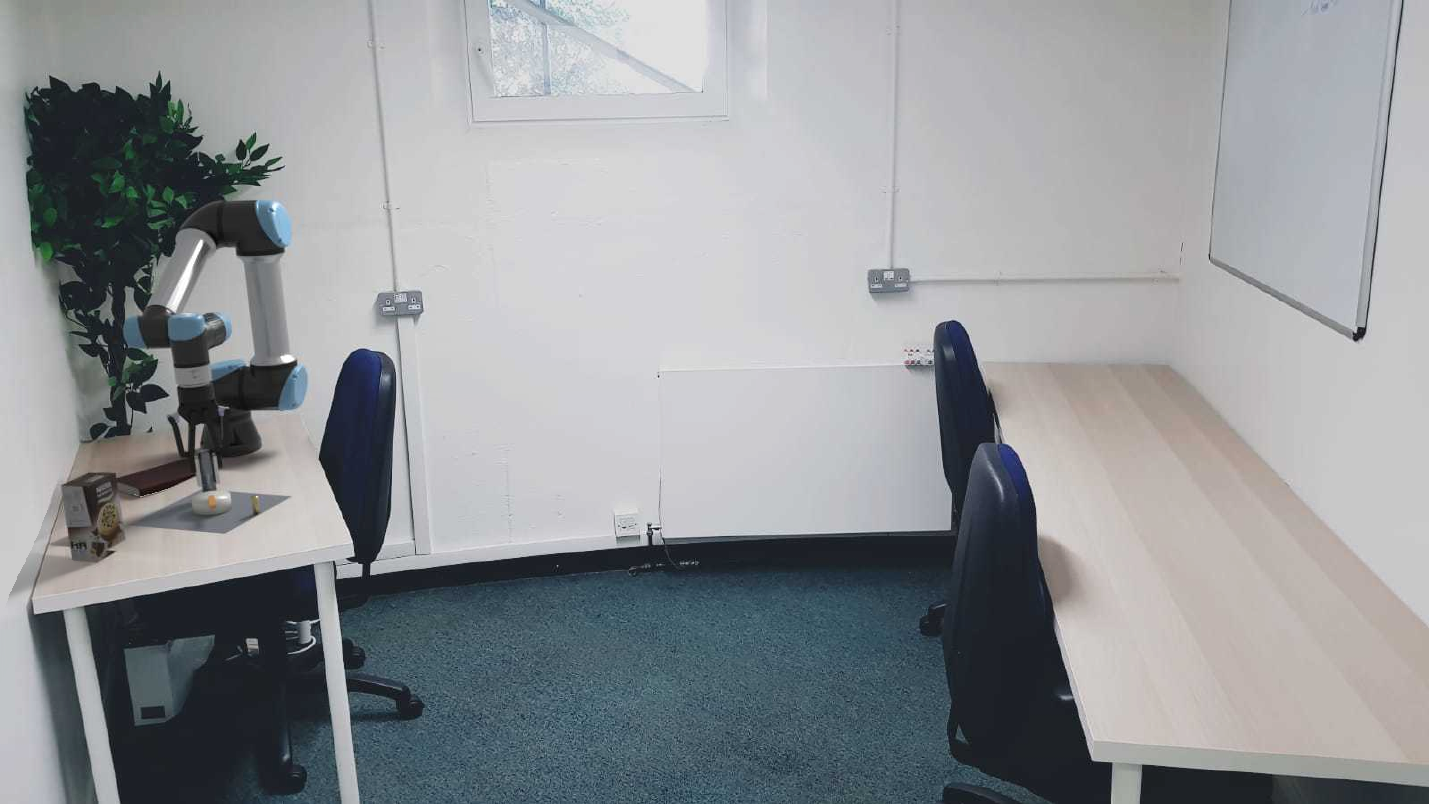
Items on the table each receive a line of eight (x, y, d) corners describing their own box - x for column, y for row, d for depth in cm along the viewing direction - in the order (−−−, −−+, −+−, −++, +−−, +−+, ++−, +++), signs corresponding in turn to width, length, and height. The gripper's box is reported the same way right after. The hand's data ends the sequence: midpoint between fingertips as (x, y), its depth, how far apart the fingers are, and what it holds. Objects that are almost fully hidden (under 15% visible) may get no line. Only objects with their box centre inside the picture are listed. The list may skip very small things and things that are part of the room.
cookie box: (99, 562, 242) (88, 486, 238) (71, 560, 243) (58, 485, 239) (128, 545, 251) (117, 471, 247) (100, 544, 252) (88, 470, 248)
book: (215, 478, 296) (213, 465, 295) (140, 500, 280) (138, 486, 279) (186, 470, 303) (184, 457, 302) (111, 491, 287) (109, 478, 286)
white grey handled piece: (234, 518, 261) (228, 470, 258) (194, 525, 257) (188, 475, 255) (228, 492, 278) (223, 446, 275) (191, 498, 274) (184, 451, 272)
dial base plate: (202, 495, 282) (199, 472, 280) (292, 502, 275) (290, 479, 274) (129, 531, 259) (125, 507, 258) (225, 540, 253) (222, 515, 252)
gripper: (156, 392, 261) (172, 494, 267) (235, 381, 268) (248, 481, 274) (153, 385, 267) (168, 485, 273) (230, 375, 275) (243, 473, 281)
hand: (208, 483), depth 274 cm, fingers closed on white grey handled piece, 3 cm apart
